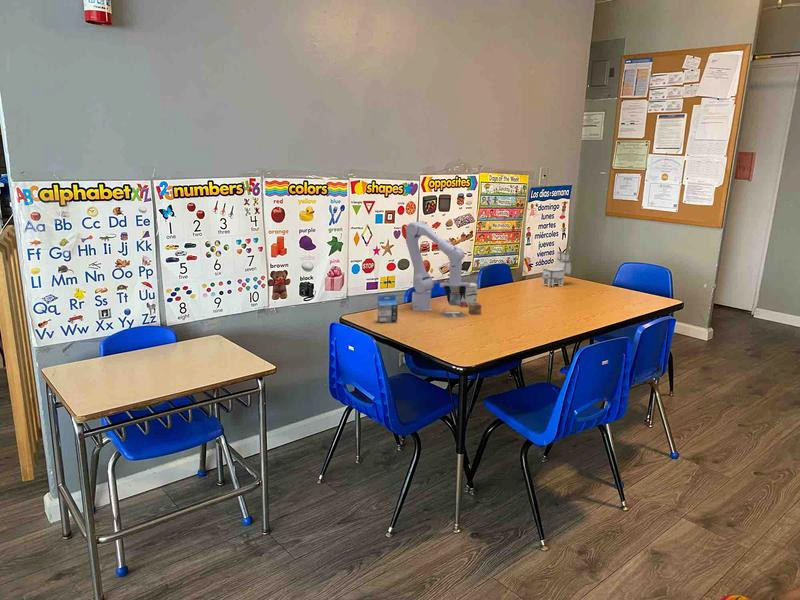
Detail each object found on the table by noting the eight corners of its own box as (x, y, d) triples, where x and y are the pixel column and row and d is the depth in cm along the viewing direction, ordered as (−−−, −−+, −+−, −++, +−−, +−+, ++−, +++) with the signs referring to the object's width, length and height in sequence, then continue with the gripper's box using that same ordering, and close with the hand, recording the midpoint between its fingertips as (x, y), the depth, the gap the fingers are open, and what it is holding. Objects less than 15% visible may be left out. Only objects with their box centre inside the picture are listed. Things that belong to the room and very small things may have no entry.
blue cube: (450, 305, 289) (450, 295, 287) (448, 302, 293) (448, 293, 292) (460, 305, 289) (460, 295, 288) (458, 302, 294) (458, 293, 293)
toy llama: (538, 285, 362) (541, 252, 357) (560, 283, 370) (563, 251, 365) (547, 287, 356) (549, 254, 351) (569, 285, 364) (572, 253, 359)
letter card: (445, 317, 287) (445, 317, 287) (441, 312, 297) (441, 311, 297) (465, 317, 288) (465, 317, 288) (461, 311, 298) (461, 311, 298)
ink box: (460, 307, 307) (461, 284, 304) (458, 304, 312) (459, 282, 309) (476, 307, 308) (477, 284, 305) (474, 304, 313) (475, 282, 310)
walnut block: (470, 315, 293) (471, 305, 292) (468, 312, 298) (469, 302, 296) (480, 315, 293) (481, 305, 292) (478, 312, 298) (478, 302, 297)
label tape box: (379, 323, 275) (379, 297, 272) (377, 320, 279) (377, 295, 276) (397, 322, 278) (398, 296, 275) (395, 319, 282) (395, 294, 279)
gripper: (442, 275, 283) (440, 303, 286) (471, 275, 284) (470, 303, 288) (439, 272, 290) (438, 299, 293) (468, 272, 291) (467, 299, 295)
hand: (454, 301), depth 291 cm, fingers closed on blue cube, 5 cm apart
